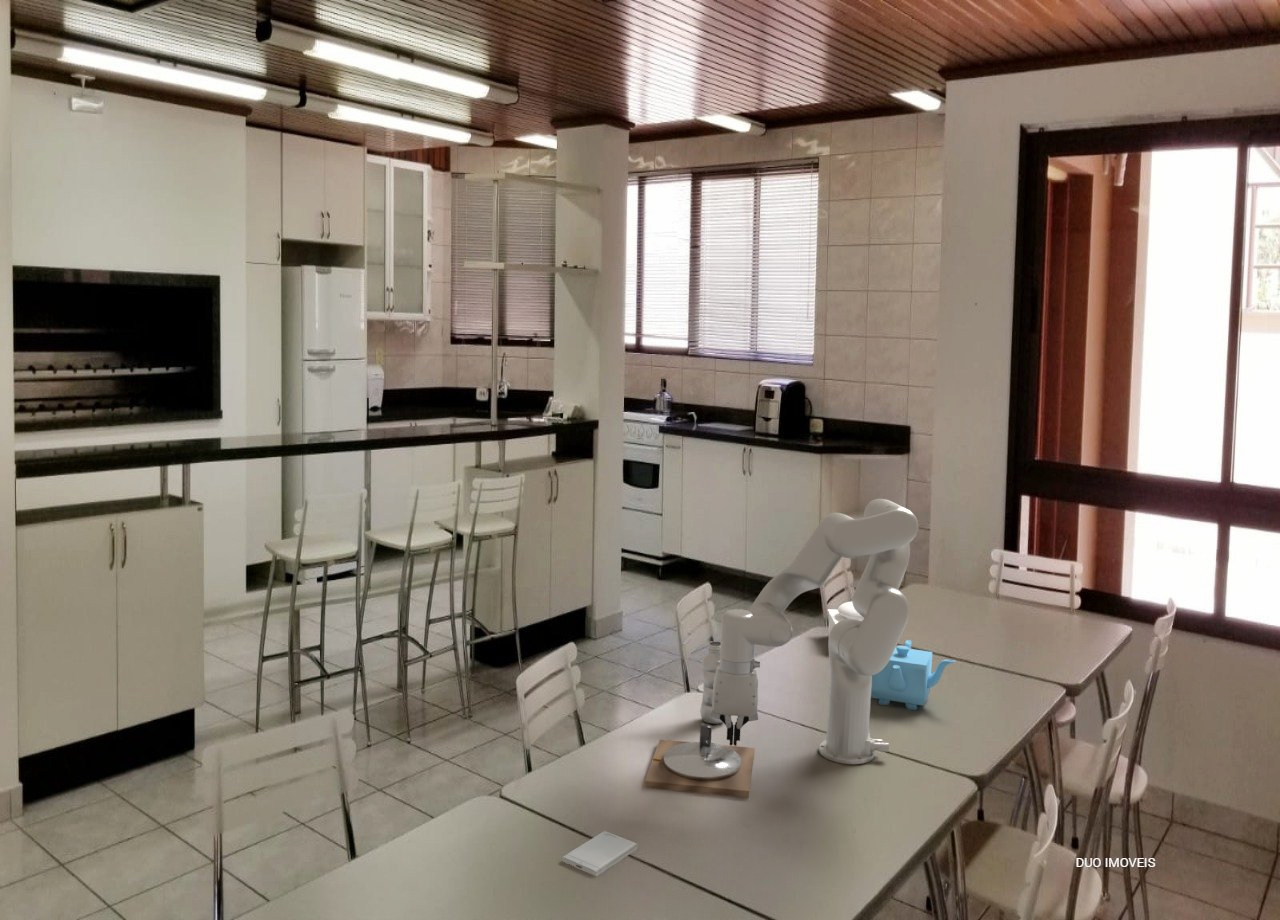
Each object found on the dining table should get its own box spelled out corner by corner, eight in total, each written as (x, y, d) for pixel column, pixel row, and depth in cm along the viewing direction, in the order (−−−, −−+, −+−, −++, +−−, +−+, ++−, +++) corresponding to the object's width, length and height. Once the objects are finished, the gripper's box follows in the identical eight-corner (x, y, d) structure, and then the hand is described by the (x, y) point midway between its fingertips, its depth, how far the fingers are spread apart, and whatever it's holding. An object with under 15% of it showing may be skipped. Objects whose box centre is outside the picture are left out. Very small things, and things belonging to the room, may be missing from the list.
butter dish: (895, 656, 312) (898, 605, 310) (835, 654, 312) (837, 603, 310) (883, 638, 329) (886, 589, 327) (826, 636, 330) (828, 587, 328)
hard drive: (603, 830, 202) (561, 855, 192) (637, 843, 197) (596, 870, 187) (603, 838, 202) (561, 864, 192) (637, 851, 197) (596, 879, 188)
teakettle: (850, 693, 281) (853, 640, 279) (907, 684, 288) (911, 632, 286) (894, 718, 264) (897, 662, 262) (953, 709, 271) (957, 654, 269)
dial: (737, 783, 222) (738, 758, 221) (658, 776, 224) (659, 750, 224) (743, 750, 238) (744, 726, 237) (669, 743, 241) (669, 720, 240)
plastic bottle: (725, 728, 255) (728, 649, 252) (697, 725, 256) (700, 646, 254) (728, 718, 261) (731, 641, 258) (701, 715, 263) (704, 638, 260)
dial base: (754, 754, 241) (754, 746, 240) (748, 797, 219) (749, 789, 219) (659, 745, 244) (659, 738, 244) (645, 787, 223) (645, 779, 222)
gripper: (770, 661, 237) (766, 738, 240) (704, 657, 239) (701, 734, 241) (770, 673, 230) (766, 752, 232) (702, 668, 231) (699, 747, 234)
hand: (733, 742), depth 237 cm, fingers closed
